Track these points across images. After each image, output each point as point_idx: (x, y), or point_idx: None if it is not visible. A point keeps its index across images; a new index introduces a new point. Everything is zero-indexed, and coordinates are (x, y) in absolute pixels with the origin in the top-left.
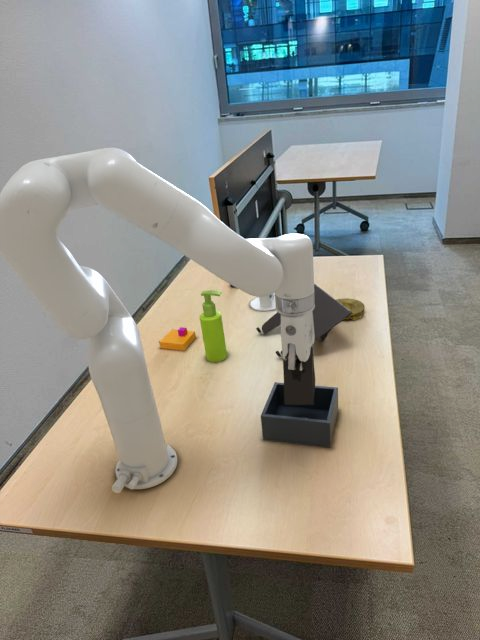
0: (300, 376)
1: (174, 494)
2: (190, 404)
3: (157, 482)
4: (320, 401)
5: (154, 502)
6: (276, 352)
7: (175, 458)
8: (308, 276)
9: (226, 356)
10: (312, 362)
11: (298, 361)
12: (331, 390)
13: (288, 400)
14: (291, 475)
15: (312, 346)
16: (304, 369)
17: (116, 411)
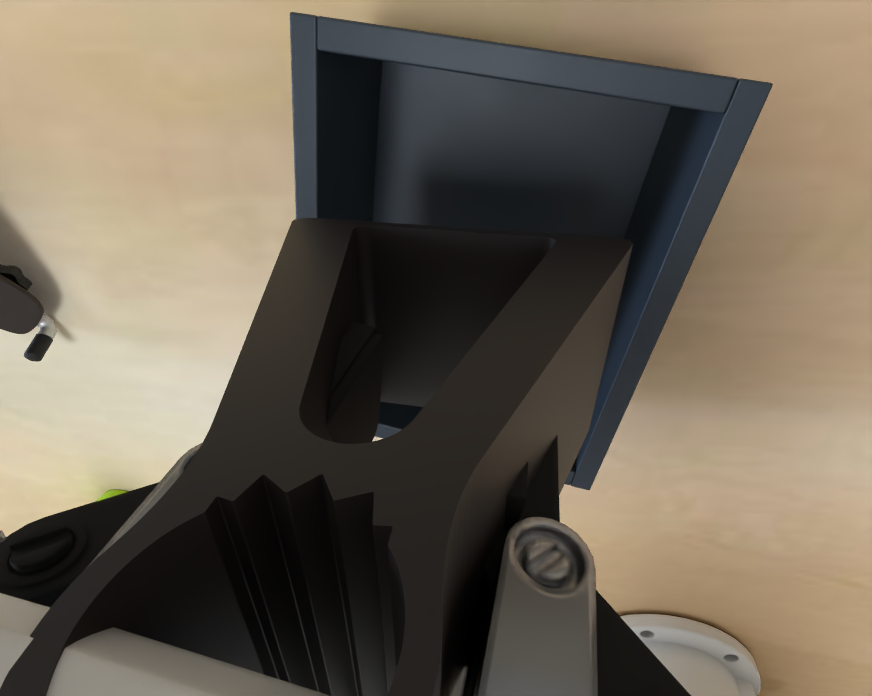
0: (537, 470)
1: (803, 620)
2: None
3: (752, 661)
4: (359, 151)
5: (819, 655)
6: (36, 359)
7: (658, 630)
8: None
9: (123, 492)
10: (472, 480)
11: (456, 646)
12: (322, 74)
13: (588, 422)
14: (856, 290)
15: (73, 675)
16: (517, 498)
17: None
